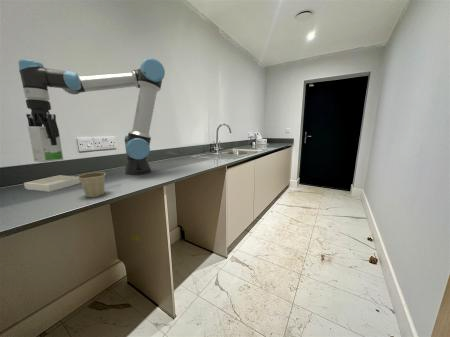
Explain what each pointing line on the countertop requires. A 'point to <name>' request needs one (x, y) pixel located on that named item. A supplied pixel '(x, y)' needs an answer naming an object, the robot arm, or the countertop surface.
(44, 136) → the skincare box
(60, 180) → the tray
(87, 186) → the flower pot
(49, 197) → the countertop surface
